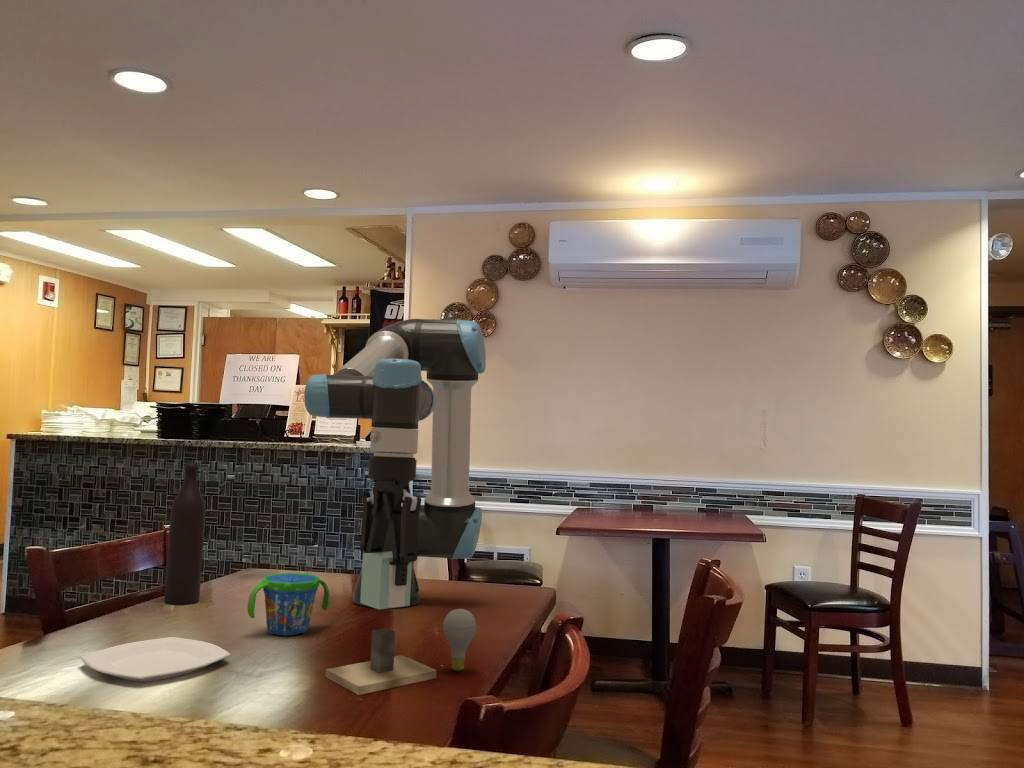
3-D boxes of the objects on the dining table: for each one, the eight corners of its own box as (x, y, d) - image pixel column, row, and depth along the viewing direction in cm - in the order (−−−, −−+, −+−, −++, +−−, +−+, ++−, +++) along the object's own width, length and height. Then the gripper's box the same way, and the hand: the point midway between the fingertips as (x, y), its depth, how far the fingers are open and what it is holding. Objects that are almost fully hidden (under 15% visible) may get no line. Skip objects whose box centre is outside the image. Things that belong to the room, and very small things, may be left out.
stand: (401, 662, 128) (403, 618, 128) (436, 678, 120) (438, 631, 121) (325, 677, 118) (328, 629, 119) (358, 695, 111) (361, 644, 111)
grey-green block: (360, 602, 120) (363, 553, 121) (390, 599, 124) (392, 551, 124) (378, 609, 116) (381, 558, 116) (409, 605, 119) (412, 556, 120)
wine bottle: (206, 601, 166) (215, 463, 168) (176, 606, 160) (187, 463, 162) (186, 596, 170) (196, 461, 172) (156, 601, 164) (167, 462, 166)
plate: (134, 696, 107) (135, 682, 108) (61, 669, 118) (62, 656, 118) (246, 665, 124) (247, 653, 124) (173, 644, 134) (174, 632, 134)
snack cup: (318, 621, 153) (321, 570, 153) (337, 634, 144) (340, 579, 144) (238, 629, 144) (242, 575, 145) (253, 643, 135) (257, 585, 136)
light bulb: (440, 665, 127) (443, 604, 127) (473, 666, 127) (476, 605, 128) (440, 676, 121) (443, 612, 122) (474, 676, 122) (477, 613, 122)
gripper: (343, 452, 126) (334, 594, 124) (406, 457, 112) (397, 617, 110) (382, 453, 131) (374, 590, 129) (446, 458, 117) (439, 611, 115)
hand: (384, 602), depth 120 cm, fingers closed on grey-green block, 6 cm apart
